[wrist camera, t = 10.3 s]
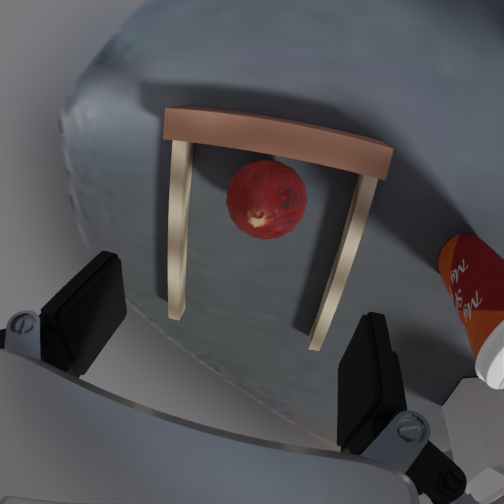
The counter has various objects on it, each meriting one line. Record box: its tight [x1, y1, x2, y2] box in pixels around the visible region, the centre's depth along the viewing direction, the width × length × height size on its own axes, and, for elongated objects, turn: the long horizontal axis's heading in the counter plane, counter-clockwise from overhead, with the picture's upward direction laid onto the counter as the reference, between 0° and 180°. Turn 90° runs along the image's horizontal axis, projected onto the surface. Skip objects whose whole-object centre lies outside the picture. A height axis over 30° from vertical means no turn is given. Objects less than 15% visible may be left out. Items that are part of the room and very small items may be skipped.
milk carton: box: [442, 377, 504, 504], centre depth 26 cm, size 7×7×19 cm
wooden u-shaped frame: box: [163, 105, 394, 351], centre depth 27 cm, size 21×16×4 cm
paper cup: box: [438, 233, 504, 389], centre depth 20 cm, size 8×8×14 cm
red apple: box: [226, 160, 307, 239], centre depth 23 cm, size 6×6×8 cm
